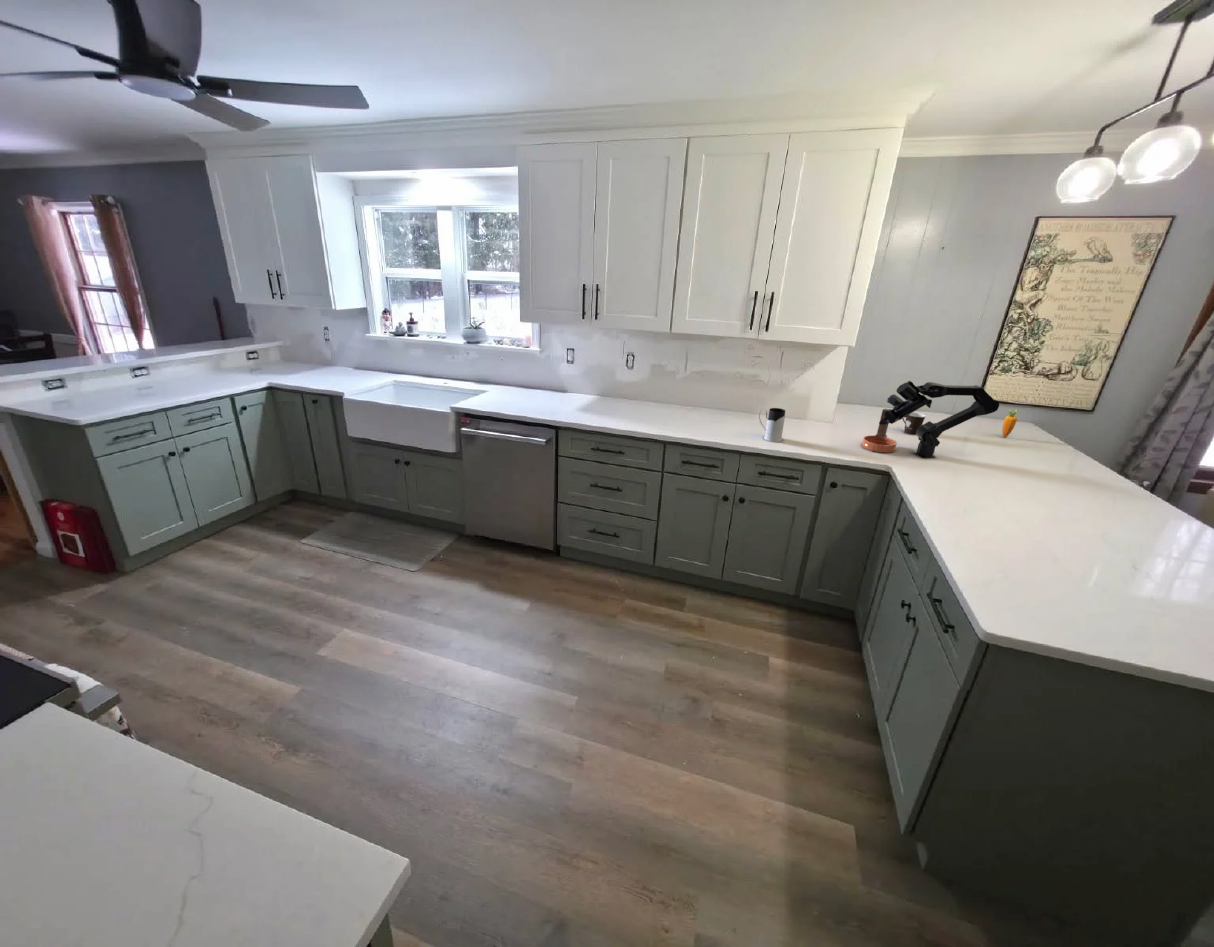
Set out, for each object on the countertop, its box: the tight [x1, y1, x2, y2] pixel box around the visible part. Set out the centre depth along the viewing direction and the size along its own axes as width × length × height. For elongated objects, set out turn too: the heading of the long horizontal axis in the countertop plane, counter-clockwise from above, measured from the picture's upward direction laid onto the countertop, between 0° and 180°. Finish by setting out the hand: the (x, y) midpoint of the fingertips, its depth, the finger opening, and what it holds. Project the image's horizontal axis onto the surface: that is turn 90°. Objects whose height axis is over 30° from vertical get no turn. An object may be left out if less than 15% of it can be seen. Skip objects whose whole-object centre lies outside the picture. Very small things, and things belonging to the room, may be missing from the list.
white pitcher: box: [758, 407, 786, 443], centre depth 247 cm, size 9×14×15 cm, turn 39°
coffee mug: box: [901, 411, 927, 436], centre depth 259 cm, size 12×9×10 cm
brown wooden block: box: [874, 407, 890, 439], centre depth 233 cm, size 4×4×14 cm
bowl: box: [861, 434, 898, 454], centre depth 237 cm, size 14×14×4 cm
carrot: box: [1001, 409, 1018, 439], centre depth 251 cm, size 5×5×15 cm
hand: (880, 422), depth 234 cm, fingers closed on brown wooden block, 3 cm apart
